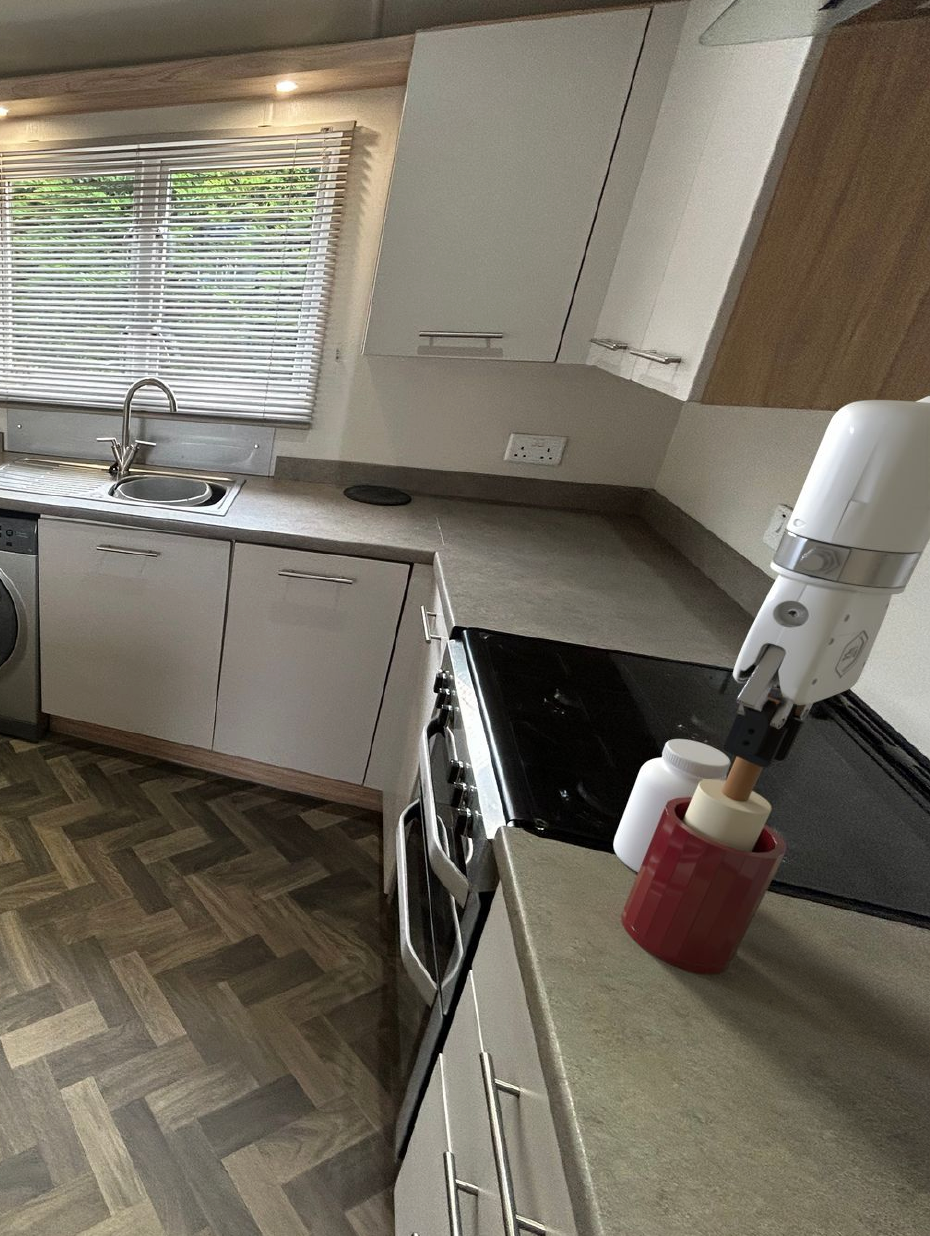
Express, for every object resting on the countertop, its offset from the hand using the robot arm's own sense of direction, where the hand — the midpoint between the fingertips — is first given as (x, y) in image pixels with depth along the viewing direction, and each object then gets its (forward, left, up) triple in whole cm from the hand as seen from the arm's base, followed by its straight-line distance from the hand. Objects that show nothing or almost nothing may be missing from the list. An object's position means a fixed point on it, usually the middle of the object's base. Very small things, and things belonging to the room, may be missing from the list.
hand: (753, 754), depth 63 cm
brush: (0, 0, -12) cm, 12 cm away
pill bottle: (-10, -7, -22) cm, 25 cm away
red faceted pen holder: (0, 0, -22) cm, 22 cm away
